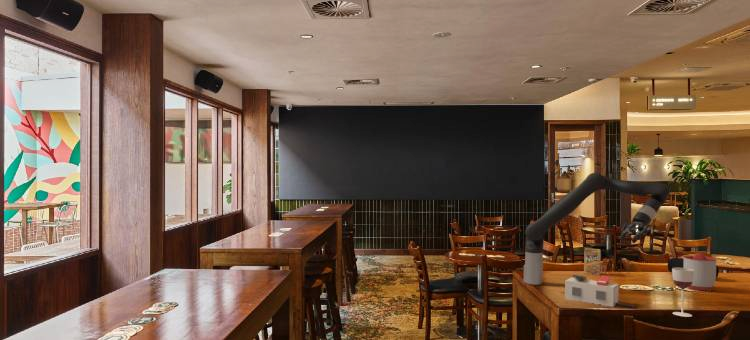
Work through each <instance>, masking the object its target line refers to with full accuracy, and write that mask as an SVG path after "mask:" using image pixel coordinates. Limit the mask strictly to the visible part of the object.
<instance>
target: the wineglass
mask: <svg viewBox="0 0 750 340" xmlns="http://www.w3.org/2000/svg"><path fill="white" fill-rule="evenodd" d="M671 274H672V281H673V283H674V286H676V287H678V288H679V289H681V312H680V311H673V312H672V314H673V315H675V316H679V317H685V318H687V317H688V318H689V317H693V315H692V314H691V313H687V312H684V303H685V302H684V301H685V300H684V297H685V295H684V294H685V293H684V292H685V291H684V290H685V289H689V288H688V287H690V286H691V285H692V283H693V278H694V270H693V269H689V268H679V267H676V268H672V273H671Z"/></svg>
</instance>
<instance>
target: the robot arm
mask: <svg viewBox="0 0 750 340" xmlns="http://www.w3.org/2000/svg"><path fill="white" fill-rule="evenodd" d="M598 190H606V191H608V190H609V191H613V192H619V193H622V194H628V195H632V196H636V197H644V198H645V197H647V196H649V195H651V196H650V197H649V198H648V199H646V201H645V202H644V203H643V205H642V206H641V207H640V208H639V209H638V211H637V212H636V214H634V216H633V218H632V222H630V223H627V222H625V223H624V224H623V225H622V227H621V229H620V233H621V235H620V236H619V237H618V238H619V241H621V242H624V240H625V239H626V237H627V236H628V235H631V234H633V233H635V234H634V236H632V239H631V240H630V241H631V242H632V244H635V243H636V242H638V240H639V239H640V238H645V237H646V236H647V234H648V233H649V232H650V231H651V228H650V226H649V225H650V223H652V221H653V220H654V218H655V216H656V214H657V213H658V211H659V210H660V208H661V207H662V206H663V205H664V204H665V203H666V201H667V200H668V198H669V196H670V194H671V188H670V187H669V186H668V185H667V184H665V183H664V184H663V183H659V182H656V183H655V182H653V183H651V182H650V183H644V182H640V181H635V180H634V181H633V180H624V179H616V178H612V177H608V176H606V175H603V174H601V173H599V172H592V173H590V174H588V175H587V176H586V178H585V179H584V180H583V181H582V182H580V184H578V186H577V187H575V188H574V189H573V190H571V191H569V192H568V193H566V194H565V195H564V196H562V197H560V199H558V200H557V201H556V202H554V204H552V206H551V207H550V208H549V209H547V210H546V212H545V213H543V215H542V216H540V217H539V218H538V219H537V220H534V222H531V223H530V224H527V226H526V227H525V232H524V233H525V237H526V239H525V254H524V255H525V258H524V259H525V261H524V265H523V283H525V284H529V285H534V286H535V285H536V286H537V285H542V284H543V264H544V263H543V261H544V260H543V259H544V257H543V255H544V251H543V250H544V235H545V234H546V233H547V231H549V229H551V228H552V227H553V226H554V225H556V224H557V223H560V222H561V221H562V220H564V219H565V218H567V217H568V216H570V215H571V213H573V212H574V211H575V210H576V209H577V208H579V206H580V205H581V204H582V203H583V202H584V201H585V200H586V199H588V198H589V197H590V196H591V195H592V194H594V193H596V192H597V191H598Z"/></svg>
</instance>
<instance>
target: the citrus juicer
mask: <svg viewBox="0 0 750 340" xmlns="http://www.w3.org/2000/svg"><path fill="white" fill-rule="evenodd" d="M682 258H683V259H684V267H683V268H689V269H693V270H694V278H693V283H692V285H691V286H690V287H688V288H687V289H690V290H692V291H695V290H696V291H704V292H710V291H712V290H713V288H714V287H715V283H716V280H717V278H716V265H717V260H718V259H717V258H715V257H712V256H711V257H710V256H705V254H703V253H702V252H701V251H700V252H699V251H698V252H697V253H696V254H695V255H689V254H688V255H683V257H682Z"/></svg>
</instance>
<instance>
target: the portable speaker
mask: <svg viewBox="0 0 750 340" xmlns="http://www.w3.org/2000/svg"><path fill="white" fill-rule="evenodd" d="M676 267H679V268H683V267H684V258H678V257H673V258H670V259H669V260H668V261H667V269H668V272H670V273H671V274H672V268H676ZM719 271H720V270H719V266H718V265H717V264H716V279H718V277H719V275H720V274H719V273H720V272H719Z"/></svg>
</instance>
